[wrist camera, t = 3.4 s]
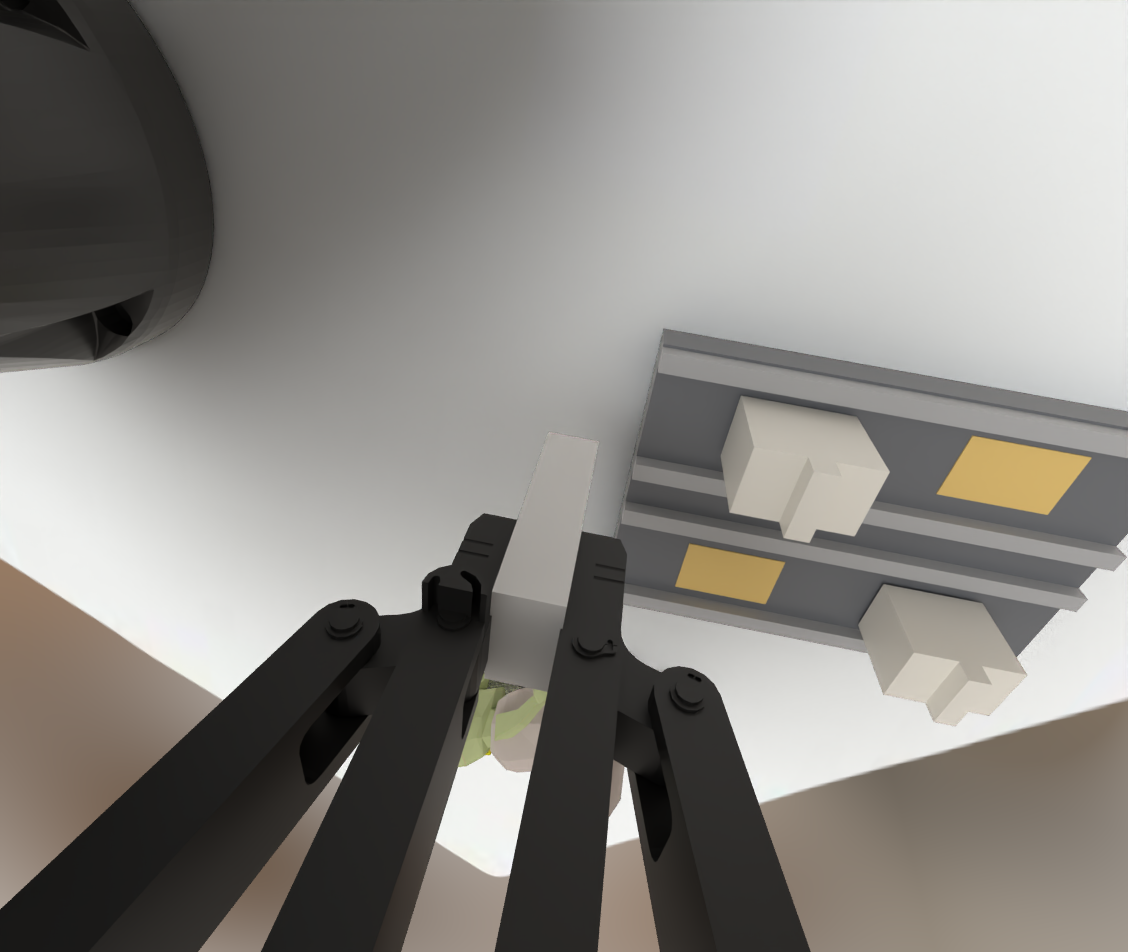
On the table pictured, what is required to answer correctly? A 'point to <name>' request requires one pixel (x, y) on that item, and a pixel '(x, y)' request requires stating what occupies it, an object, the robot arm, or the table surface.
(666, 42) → the table surface
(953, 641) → the tab
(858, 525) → the tab
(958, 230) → the table surface
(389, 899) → the robot arm
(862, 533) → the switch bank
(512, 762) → the figurine
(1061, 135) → the table surface
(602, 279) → the table surface
